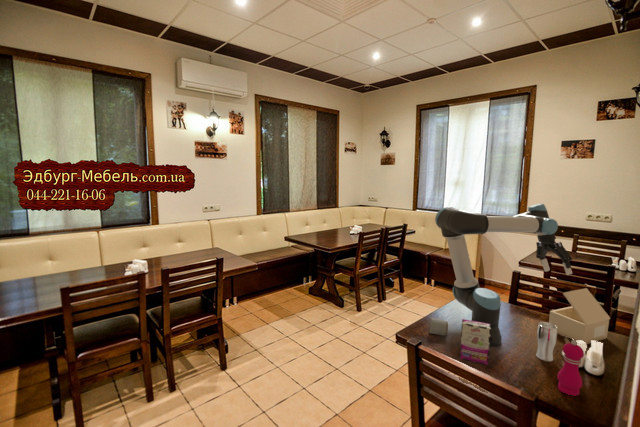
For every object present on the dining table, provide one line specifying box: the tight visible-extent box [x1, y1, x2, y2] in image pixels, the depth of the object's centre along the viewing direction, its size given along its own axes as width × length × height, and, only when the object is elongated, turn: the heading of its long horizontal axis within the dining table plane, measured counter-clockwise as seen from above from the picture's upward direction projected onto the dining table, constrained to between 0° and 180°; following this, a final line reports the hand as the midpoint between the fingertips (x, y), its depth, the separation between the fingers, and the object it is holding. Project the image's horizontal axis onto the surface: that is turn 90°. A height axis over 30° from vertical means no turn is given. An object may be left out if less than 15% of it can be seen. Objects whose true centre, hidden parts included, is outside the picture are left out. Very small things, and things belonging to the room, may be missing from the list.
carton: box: [548, 305, 610, 345], centre depth 156 cm, size 18×16×10 cm
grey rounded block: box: [429, 317, 449, 336], centre depth 157 cm, size 11×8×8 cm
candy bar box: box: [459, 318, 491, 366], centre depth 134 cm, size 11×5×16 cm, turn 64°
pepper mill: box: [557, 340, 585, 396], centre depth 114 cm, size 7×7×20 cm
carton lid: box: [562, 287, 611, 325], centre depth 152 cm, size 18×16×1 cm
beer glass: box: [535, 321, 558, 363], centre depth 135 cm, size 7×7×15 cm
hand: (558, 272), depth 161 cm, fingers open, 13 cm apart
